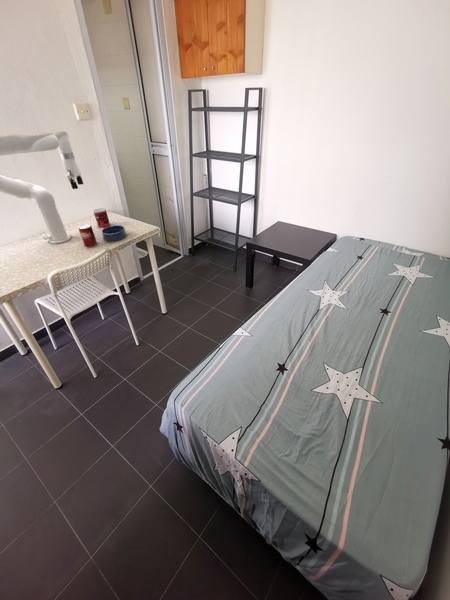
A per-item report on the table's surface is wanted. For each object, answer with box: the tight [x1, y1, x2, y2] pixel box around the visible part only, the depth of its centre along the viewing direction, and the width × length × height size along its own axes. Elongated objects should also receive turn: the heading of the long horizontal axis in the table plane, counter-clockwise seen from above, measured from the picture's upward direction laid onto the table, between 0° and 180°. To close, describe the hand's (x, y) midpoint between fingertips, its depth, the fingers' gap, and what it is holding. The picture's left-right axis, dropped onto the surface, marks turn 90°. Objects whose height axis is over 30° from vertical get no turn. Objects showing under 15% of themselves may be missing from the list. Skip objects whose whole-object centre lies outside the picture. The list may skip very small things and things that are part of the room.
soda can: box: [77, 223, 98, 248], centre depth 169 cm, size 7×7×12 cm
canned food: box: [93, 207, 111, 229], centre depth 194 cm, size 8×8×11 cm
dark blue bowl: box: [101, 224, 127, 242], centre depth 179 cm, size 14×14×5 cm
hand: (78, 186), depth 175 cm, fingers open, 9 cm apart
